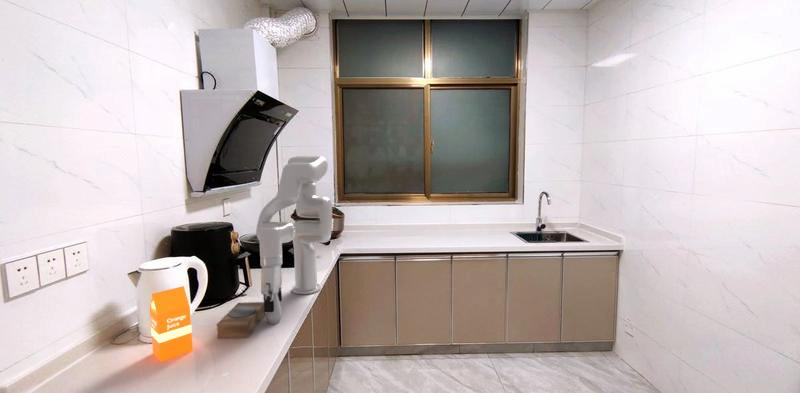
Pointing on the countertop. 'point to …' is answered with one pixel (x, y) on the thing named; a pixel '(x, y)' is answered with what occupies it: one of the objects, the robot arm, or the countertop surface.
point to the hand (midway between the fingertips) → (273, 306)
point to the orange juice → (170, 324)
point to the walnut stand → (241, 320)
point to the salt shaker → (277, 314)
